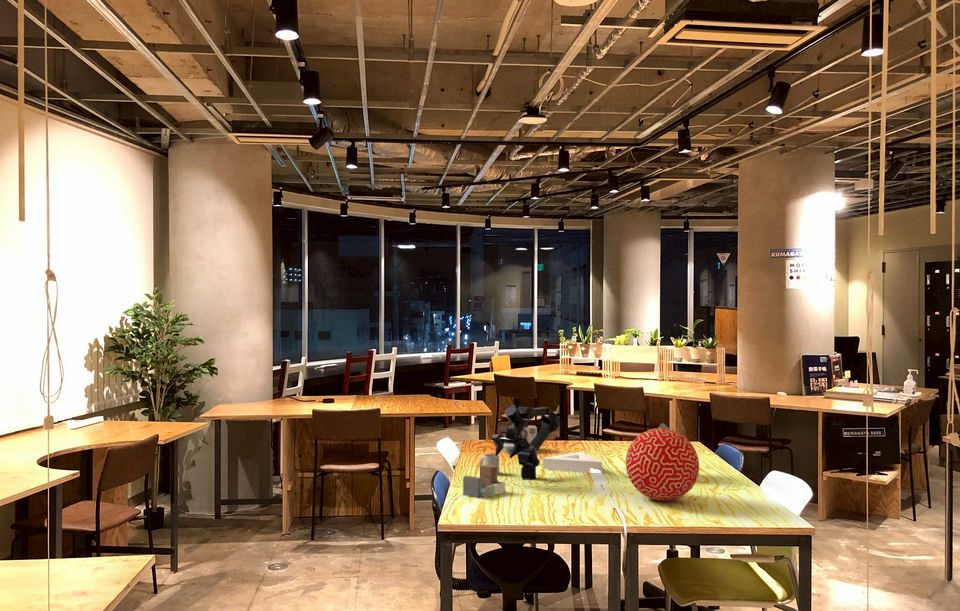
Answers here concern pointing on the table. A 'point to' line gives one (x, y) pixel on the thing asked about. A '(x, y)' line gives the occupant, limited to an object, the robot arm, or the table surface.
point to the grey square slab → (472, 486)
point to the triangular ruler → (572, 462)
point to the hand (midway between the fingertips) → (502, 456)
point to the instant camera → (526, 433)
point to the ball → (662, 464)
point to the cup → (490, 460)
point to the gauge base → (493, 489)
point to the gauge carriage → (488, 475)
